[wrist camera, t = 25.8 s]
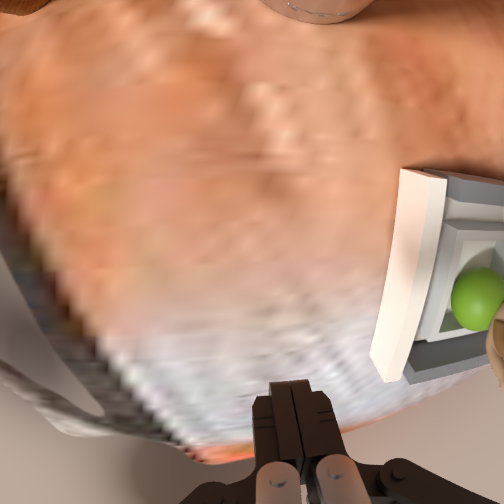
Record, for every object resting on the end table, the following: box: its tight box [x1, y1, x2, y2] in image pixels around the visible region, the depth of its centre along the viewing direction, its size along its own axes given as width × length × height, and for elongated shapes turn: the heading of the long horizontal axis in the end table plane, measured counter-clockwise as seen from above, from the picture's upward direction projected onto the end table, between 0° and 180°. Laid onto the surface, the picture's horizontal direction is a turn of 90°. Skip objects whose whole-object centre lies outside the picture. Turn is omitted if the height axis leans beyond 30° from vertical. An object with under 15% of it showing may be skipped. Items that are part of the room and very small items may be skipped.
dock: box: [403, 168, 504, 385], centre depth 22 cm, size 17×18×5 cm
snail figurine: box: [451, 267, 504, 392], centre depth 18 cm, size 5×6×12 cm
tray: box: [369, 169, 504, 383], centre depth 22 cm, size 17×17×4 cm
